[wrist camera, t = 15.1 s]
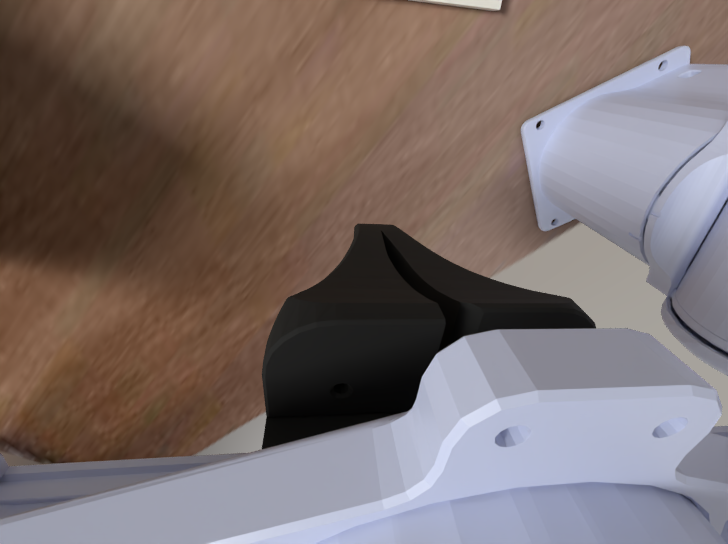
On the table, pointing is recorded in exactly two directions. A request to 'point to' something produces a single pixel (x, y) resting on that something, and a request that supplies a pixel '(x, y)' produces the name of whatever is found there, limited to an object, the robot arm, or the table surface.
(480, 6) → the board
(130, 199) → the table surface
